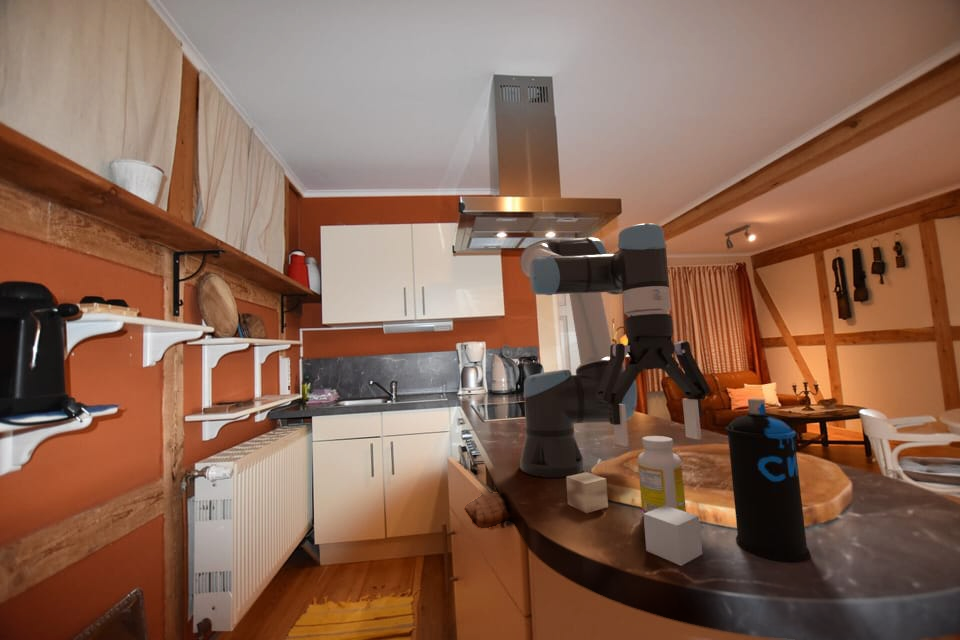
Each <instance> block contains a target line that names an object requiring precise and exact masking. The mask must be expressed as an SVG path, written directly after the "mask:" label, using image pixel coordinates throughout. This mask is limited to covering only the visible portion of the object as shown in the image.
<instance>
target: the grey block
mask: <svg viewBox="0 0 960 640" xmlns="http://www.w3.org/2000/svg"><path fill="white" fill-rule="evenodd" d="M700 524H701V521H700V516H699V515H698V514H694V513H691V512H687V511H686V512H685V511H681V510H678V509H675V508H672V507H669V506H666V505H664V506H662V507H659V508H657V509H654V510H652V511H649V512H647V513H644V516H643V525H644V526H643V527H644V537H645V549H646V552H648V553H651V554H653V555H655V556H658V557H660V558H662V559H665V560H667V561H670V563H674V564H676V565H678V566H683V565H685V564H687V563H689V562H691V561H693V560H694V559H696V558H698V557H700V556H701V555H703V546H702V534H701V525H700Z"/></svg>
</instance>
